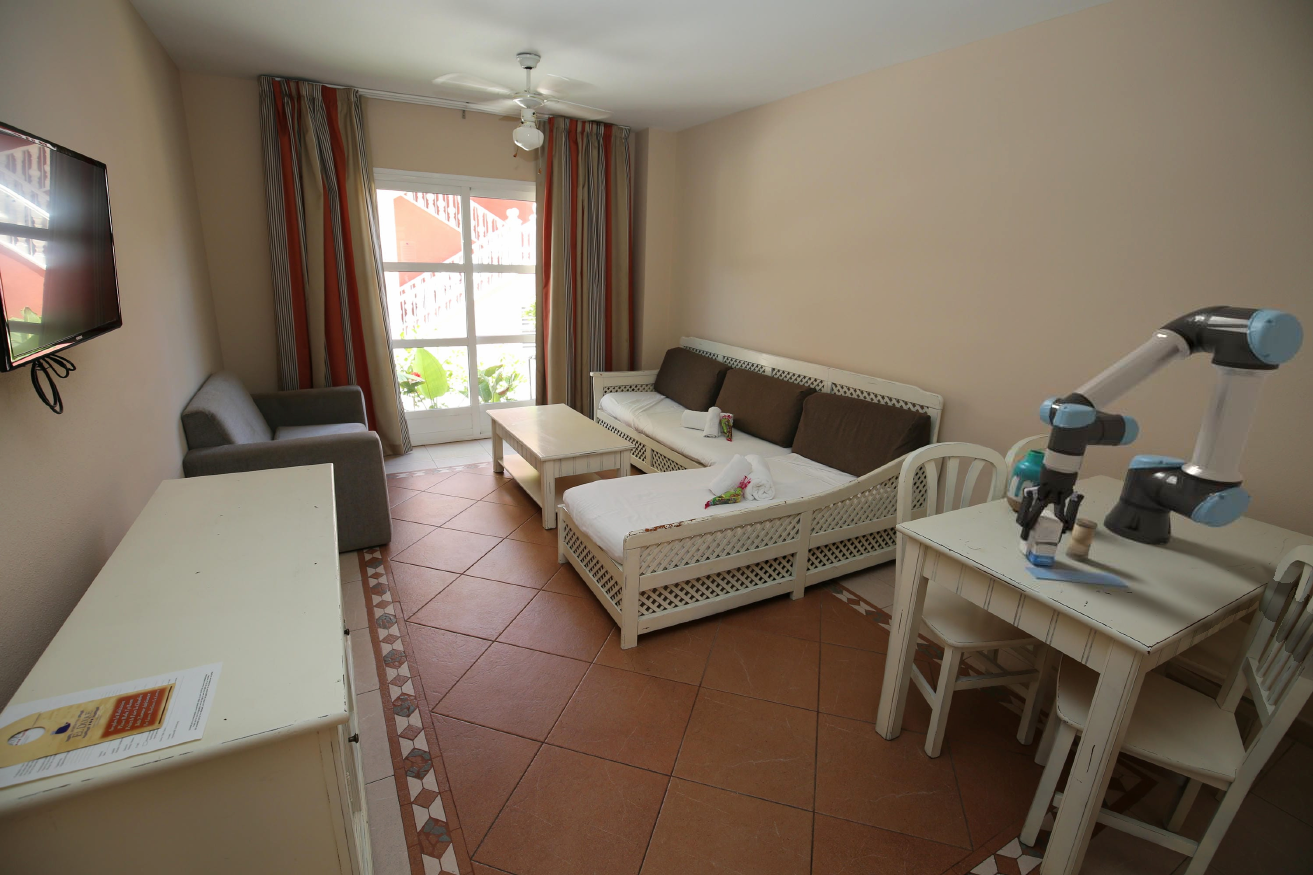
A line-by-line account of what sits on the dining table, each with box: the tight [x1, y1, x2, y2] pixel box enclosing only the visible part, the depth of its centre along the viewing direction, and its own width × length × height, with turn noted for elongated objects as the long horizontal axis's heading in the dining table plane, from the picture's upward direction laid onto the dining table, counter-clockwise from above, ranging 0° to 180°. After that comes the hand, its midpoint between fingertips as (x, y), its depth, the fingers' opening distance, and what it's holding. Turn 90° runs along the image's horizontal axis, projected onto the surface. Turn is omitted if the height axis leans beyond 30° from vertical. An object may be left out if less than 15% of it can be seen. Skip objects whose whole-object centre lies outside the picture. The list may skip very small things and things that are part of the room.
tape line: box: [1025, 566, 1129, 588], centre depth 141 cm, size 21×5×1 cm, turn 85°
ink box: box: [1019, 509, 1063, 567], centre depth 147 cm, size 9×5×12 cm, turn 168°
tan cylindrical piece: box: [1065, 517, 1098, 562], centre depth 149 cm, size 5×5×10 cm
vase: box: [1006, 449, 1046, 512], centre depth 176 cm, size 11×11×19 cm
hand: (1036, 552), depth 148 cm, fingers closed on ink box, 5 cm apart
